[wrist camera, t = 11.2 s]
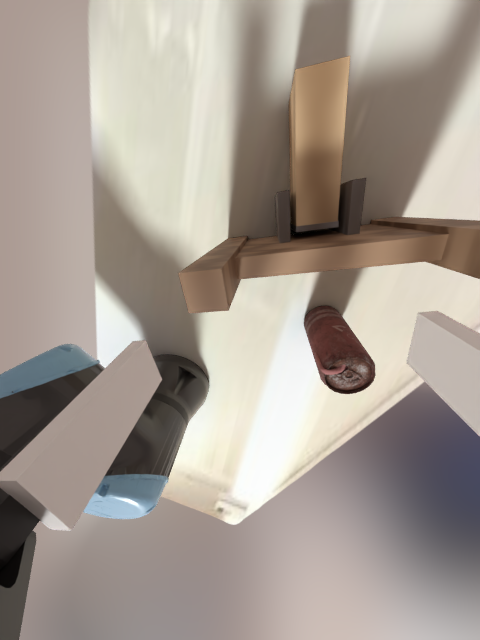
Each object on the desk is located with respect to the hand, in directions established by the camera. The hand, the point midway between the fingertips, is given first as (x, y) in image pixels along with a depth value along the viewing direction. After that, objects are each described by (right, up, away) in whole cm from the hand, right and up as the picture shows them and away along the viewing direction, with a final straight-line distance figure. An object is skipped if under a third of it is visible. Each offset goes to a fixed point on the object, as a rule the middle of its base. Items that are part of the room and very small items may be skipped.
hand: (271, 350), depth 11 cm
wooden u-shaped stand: (+8, +15, +19) cm, 25 cm away
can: (+12, +2, +26) cm, 29 cm away
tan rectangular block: (+7, +21, +16) cm, 27 cm away
